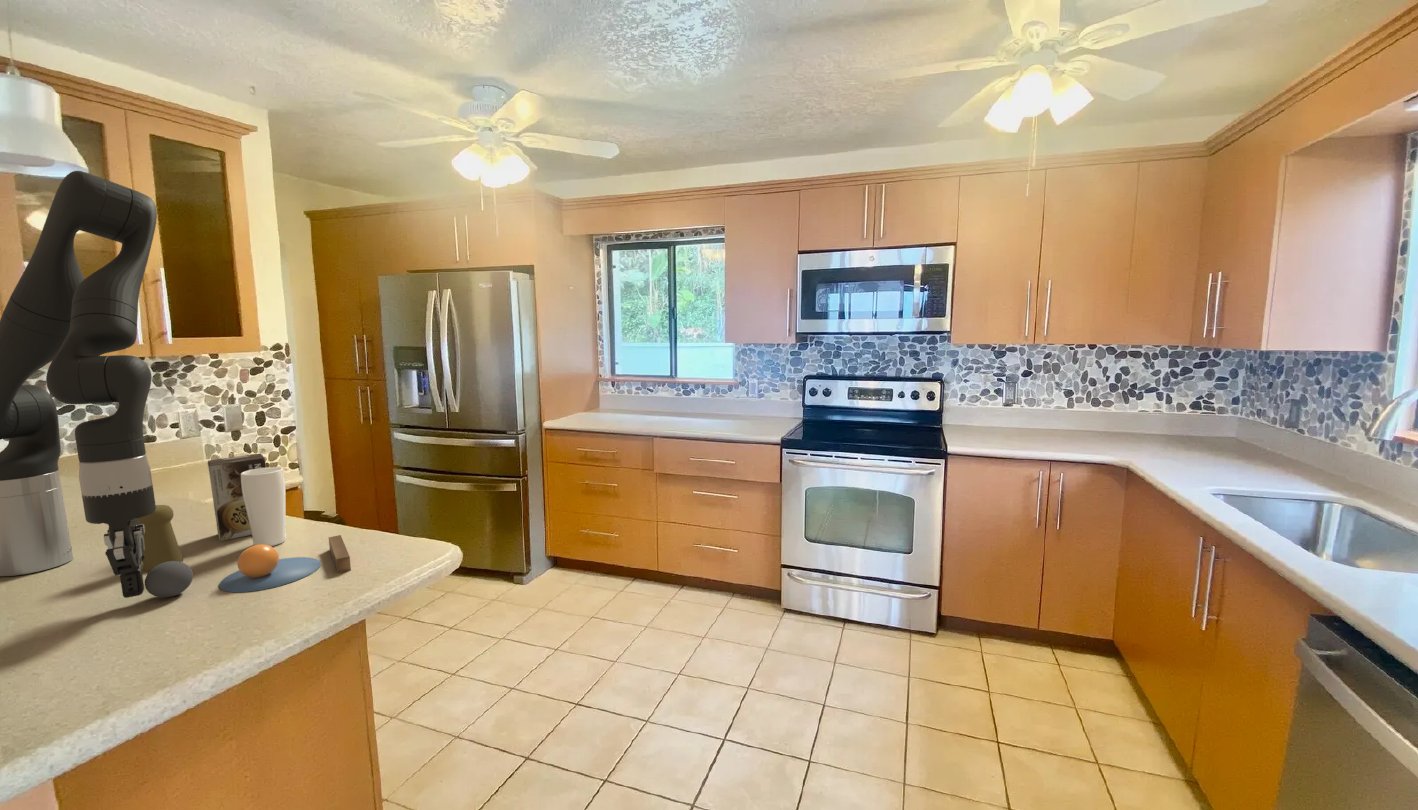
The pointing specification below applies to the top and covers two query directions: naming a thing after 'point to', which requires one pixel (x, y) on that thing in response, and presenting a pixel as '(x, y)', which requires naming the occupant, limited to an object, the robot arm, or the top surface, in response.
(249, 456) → the coffee box
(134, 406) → the robot arm
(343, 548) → the brown bar
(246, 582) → the blue flat round disc
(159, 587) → the gray ball
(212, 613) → the top surface
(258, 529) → the drinking glass
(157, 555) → the cork
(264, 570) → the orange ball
